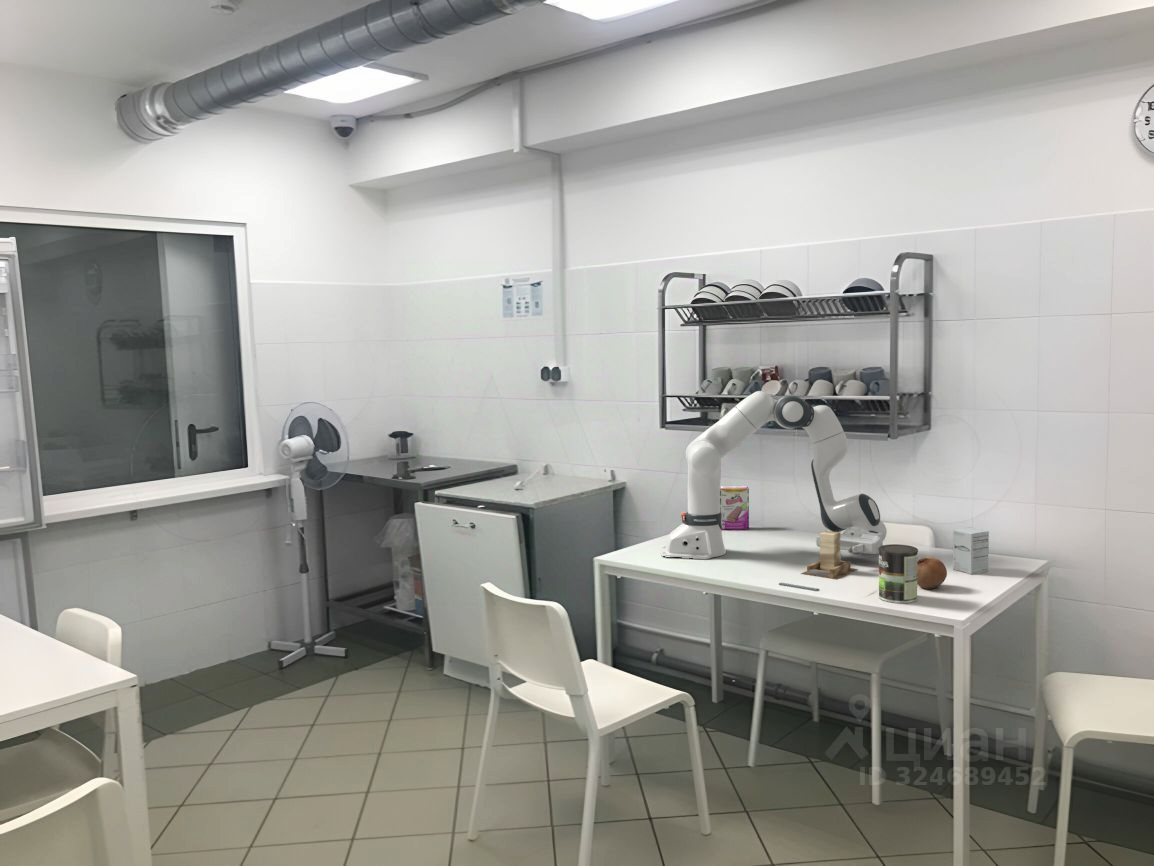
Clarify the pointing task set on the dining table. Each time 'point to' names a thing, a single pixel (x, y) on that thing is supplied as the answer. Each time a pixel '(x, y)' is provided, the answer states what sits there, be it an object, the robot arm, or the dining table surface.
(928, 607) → the dining table surface
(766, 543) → the dining table surface
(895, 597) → the coffee can
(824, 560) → the maple block
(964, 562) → the supplement box
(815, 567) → the walnut chute
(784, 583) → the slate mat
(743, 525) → the candy bar box
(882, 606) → the dining table surface
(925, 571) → the onion
